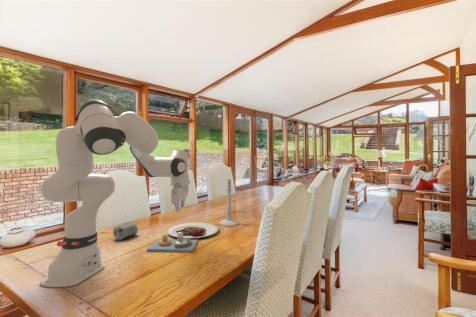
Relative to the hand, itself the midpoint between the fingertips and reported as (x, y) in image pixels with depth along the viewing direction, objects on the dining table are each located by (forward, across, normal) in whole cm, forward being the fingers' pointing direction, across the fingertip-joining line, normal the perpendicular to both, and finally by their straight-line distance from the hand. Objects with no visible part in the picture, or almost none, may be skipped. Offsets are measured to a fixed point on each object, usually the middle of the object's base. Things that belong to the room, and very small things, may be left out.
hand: (180, 209), depth 133 cm
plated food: (+19, +24, -2) cm, 31 cm away
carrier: (+19, 0, +3) cm, 19 cm away
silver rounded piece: (+18, 0, 0) cm, 18 cm away
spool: (+19, +13, +34) cm, 41 cm away
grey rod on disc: (+19, +43, -22) cm, 52 cm away
